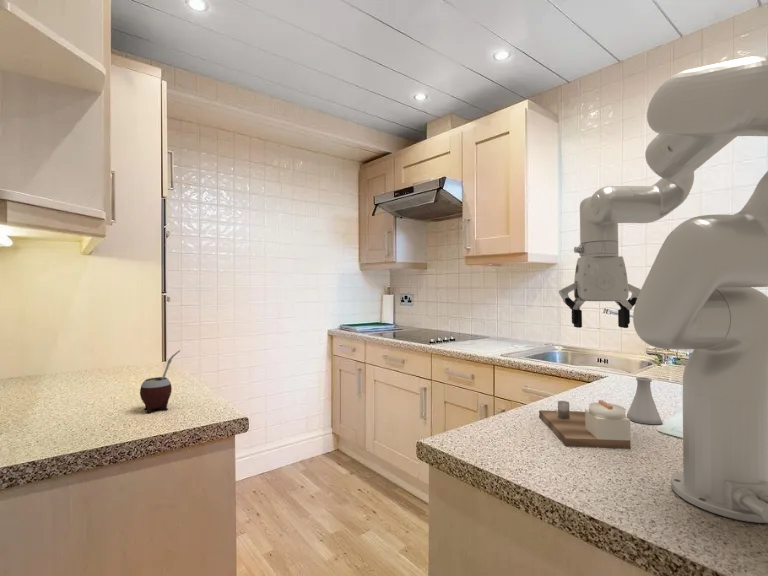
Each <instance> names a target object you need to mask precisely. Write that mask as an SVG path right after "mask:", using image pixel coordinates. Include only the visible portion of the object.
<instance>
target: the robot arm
mask: <svg viewBox="0 0 768 576" xmlns="http://www.w3.org/2000/svg"><path fill="white" fill-rule="evenodd" d="M650 99H651V100H650V102H649V103H648V108H647V112H646V120H647V121H646V122H647V123H648V126H649V128H651V130H652V131H653V132H655V134H656V133H657V135H656V136H655V137H654V138H653V139H652V140H651V141H650V143H649V144H648V145H647V146H646V150H645V161H646V163H647V165H648V167H649V168H650V170H651V171H652V172H653V173H655V174H656V175H657V176H659V177H660V179H659V180H658V181H657V182H656V183H654V184H652V185H650V186H647V185H608V186H602V187H601V188H599V189H597V191H595V192H593V194H592V195H591V196H588V197H586V198H584V199H582V200H581V202H580V203H579V204H580V205H579V235H580V236H579V237H580V238H579V239H580V240H579V241H580V244H579V245H578V246H574V247H573V252H574V253H575V254H576V253H577V254H579V256H580V257H579V258H577V261H576V265H575V271H574V280H573V283H571V284H569V285H568V286H567V285H566V286H565V287H564V288H561V289H559V290H558V294H559V296H560V297H561V299H562V301H563V303H564V304H565V305H567V307H569V309H570V310H571V324H572V325H573V327H574V328H577V329H579V328H582V327H583V311H582V310H581V307H582V305H584V303H585V302H614V303H616V305H618V307H619V308H620V309H618V310H617V323H618V327H619V328H624V329H628V328H629V325H630V322H631V316H630V315H631V314H630V311H631V310H632V309H633V312H632V322H633V328H634V331H635V333H636V334H637V336H638V338H640V339H641V341H643V342H644V343H646V344H647V345H649V346H651V347H654V348H658V349H664V350H692V352H691V353H690V355H689V357H688V359H687V360H686V363H685V365H684V369H683V374H682V455H683V456H682V458H683V459H682V462H683V463H682V465H683V466H682V468H683V471H681V472H677V473H675V474H673V475H672V476H671V478H670V486H671V487H670V488H671V489H672V491H673V492H674V493H675V494H676V495H677V496H678V497H680V498H682V500H685V501H687V503H690V504H691V505H694V506H695V507H698V508H699V509H702V510H704V511H707V512H709V513H713V514H716V515H719V516H722V517H725V518H728V519H732V520H737V521H742V522H749V523H758V524H768V296H767V294H765V293H763V292H762V291H760V290H758V289H756V288H768V170H767V171H766V172H765V173H764V174H763V176H762V177H761V178H760V179H759V181H758V183H757V184H756V187H755V189H754V190H753V193H752V194H751V196H750V197H749V199H748V200H747V202H746V203H745V205H744V206H743V207H742V208H741V210H740V211H738V212H737V213H734V214H704V215H698V216H694V217H691V218H689V219H686V220H684V221H682V222H681V223H680V224H678V226H676V227H675V228H674V229H672V231H671V232H669V234H668V235H667V236H666V238H665V240H664V241H663V243H662V244H661V247H660V249H659V251H658V253H657V255H656V257H655V260H654V261H653V264H652V265H651V268H650V270H649V272H648V274H647V276H646V277H645V280H644V283H643V284H642V287H641V289H640V288H638V287H636V286H634V285H632V284H630V283H629V281H628V273H627V268H626V264H625V263H626V262H625V260H624V256H621V255H620V256H619V224H649V223H653V222H656V221H659V220H661V219H662V218H664V217H666V216H667V215H669V214H670V213H672V212H673V211H674V210H675V209H677V208H678V207H679V206H681V205H682V204H683V203H684V202H685V201H686V200H687V198H688V196H689V195H690V192H691V190H692V188H693V185H694V181H695V171H696V170H698V169H699V168H701V166H703V165H704V164H705V163H707V161H708V160H710V159H711V158H712V157H713V156H715V155H716V154H717V153H718V152H720V151H721V150H722V149H723V148H725V147H726V146H727V145H729V144H730V143H731V142H732V141H733V140H734V139H735V138H737V137H768V55H767V54H766V55H753V56H745V57H740V58H736V59H731V60H726V61H722V62H718V63H713V64H708V65H703V66H699V67H695V68H694V67H692V68H689V69H685V70H682V71H680V72H678V73H675V74H674V75H672V76H671V77H669V78H668V79H667V80H666V81H664V82H663V83H662V84H661V85H660V86H659V87H658V88H657V90H656V91H655V92H654V94H653V96H652V97H651V98H650ZM572 291H573V294H574V300H572V298H571V297H570V296H569V294H570V293H571V292H572ZM629 292H630V293H631V296H630V297H629Z"/></svg>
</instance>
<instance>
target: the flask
mask: <svg viewBox="0 0 768 576" xmlns="http://www.w3.org/2000/svg"><path fill="white" fill-rule="evenodd" d="M635 380H636V384H637V386H636V390H635V395H634V396H633V398H632V401H631V404H630V406H629V409H628V411H627V413H626V417H627V418H628V419H630V421H633V422H635V423H639V424H647V425H663V424H664V423H663V421H662V418H661V416H660V414H659V410H658V408H657V405H656V403H655V400H654V397H653V395H652V394H653V393H652V388H651V383H652V378H650V377H646V376H636V377H635Z"/></svg>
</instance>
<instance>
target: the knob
mask: <svg viewBox="0 0 768 576" xmlns="http://www.w3.org/2000/svg"><path fill="white" fill-rule="evenodd" d="M584 412H585V429H587V430H588V431H589V432H590V433H591V434H592V435H594V436H595V437H596V438H597V439H602V440H631V439H632V438H631V420H630V419H628V418H627V416H626V408H625V407H624V406H621V405H618V404H614V403H610V402H607V401H605V400H603V399H602V400H601V399H600V400H598V402H591V403H589V404H588V409H584Z"/></svg>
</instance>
